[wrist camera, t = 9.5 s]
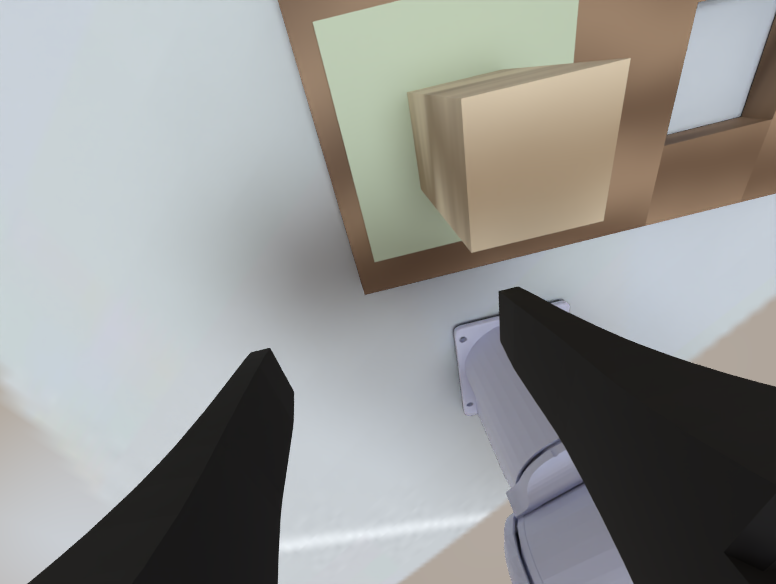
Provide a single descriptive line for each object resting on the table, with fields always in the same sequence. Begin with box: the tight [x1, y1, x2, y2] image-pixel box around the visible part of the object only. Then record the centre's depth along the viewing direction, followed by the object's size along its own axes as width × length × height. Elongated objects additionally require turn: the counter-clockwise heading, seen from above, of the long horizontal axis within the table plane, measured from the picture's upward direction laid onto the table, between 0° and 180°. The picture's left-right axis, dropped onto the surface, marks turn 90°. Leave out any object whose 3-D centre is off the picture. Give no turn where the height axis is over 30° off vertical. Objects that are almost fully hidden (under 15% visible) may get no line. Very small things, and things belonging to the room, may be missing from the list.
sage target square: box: [313, 0, 579, 262], centre depth 15 cm, size 10×10×1 cm
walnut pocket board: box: [278, 0, 776, 295], centre depth 16 cm, size 14×26×2 cm, turn 102°
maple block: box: [407, 58, 631, 253], centre depth 12 cm, size 4×4×7 cm
